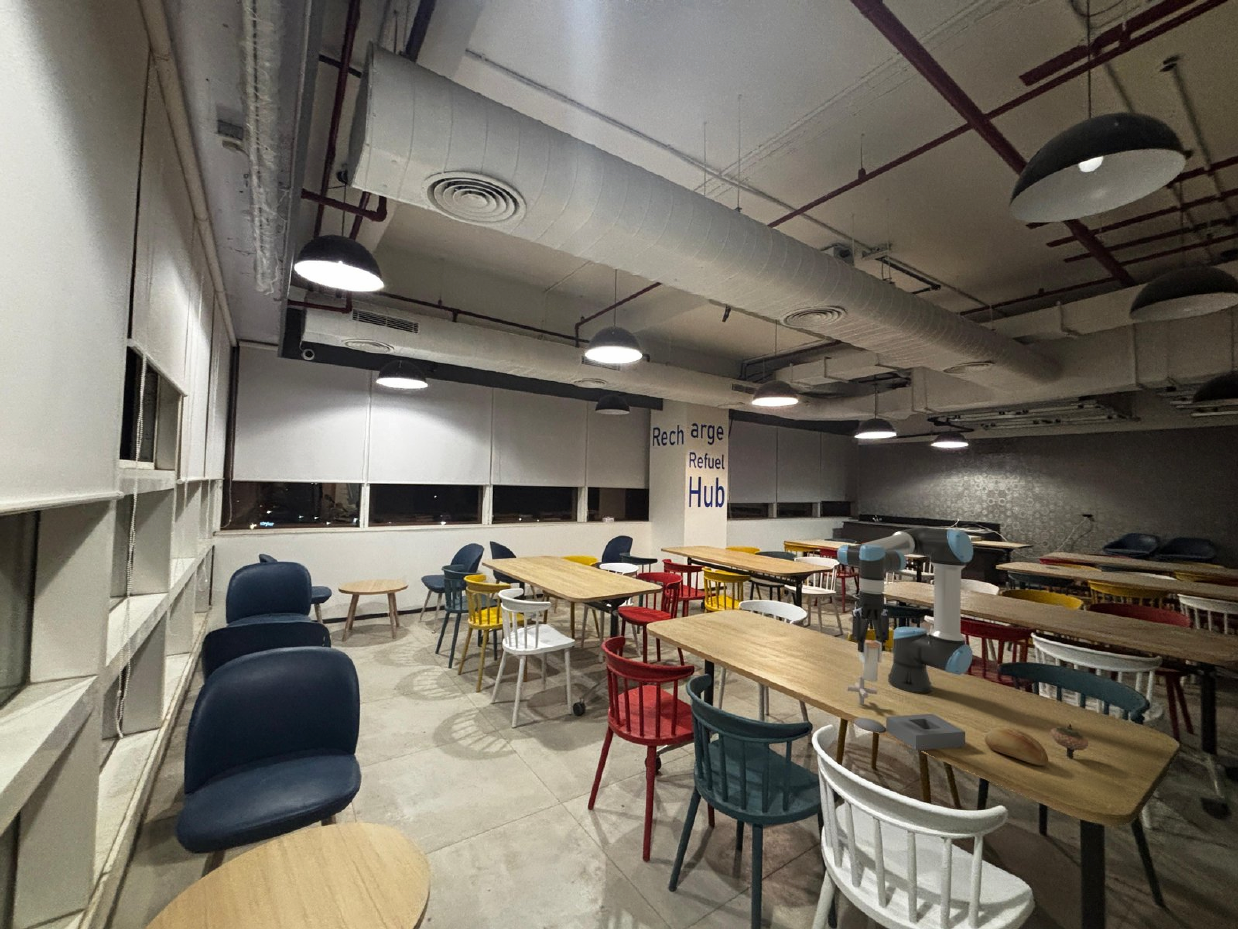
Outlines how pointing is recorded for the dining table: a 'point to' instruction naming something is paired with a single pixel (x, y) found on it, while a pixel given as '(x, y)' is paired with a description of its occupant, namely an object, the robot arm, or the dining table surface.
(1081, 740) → the brown spinning top
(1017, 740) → the bread roll
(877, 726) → the grey round plate
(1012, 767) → the dining table surface
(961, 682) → the dining table surface
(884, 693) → the dining table surface
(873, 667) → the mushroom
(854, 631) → the robot arm
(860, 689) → the pipe connector
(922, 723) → the grey flat block
